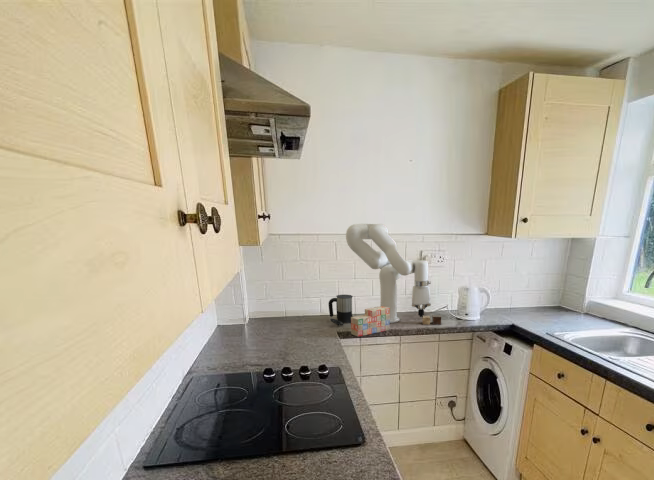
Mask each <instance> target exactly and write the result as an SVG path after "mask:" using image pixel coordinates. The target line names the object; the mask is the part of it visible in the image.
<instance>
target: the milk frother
mask: <svg viewBox="0 0 654 480" xmlns="http://www.w3.org/2000/svg"><path fill="white" fill-rule="evenodd" d="M334 302H335V303H336V319H335V318H332V317H333V316H334V307H333V306H334V305H333V303H334ZM328 312H329V313H328V314H329V317H330V319H329V320H330V322H331V323H332V324H335V325H337V326H343V325H344V324H348V323H351V317H353V295H351V294H337V295H335V297H332V298H330V299H329V301H328Z"/></svg>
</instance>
